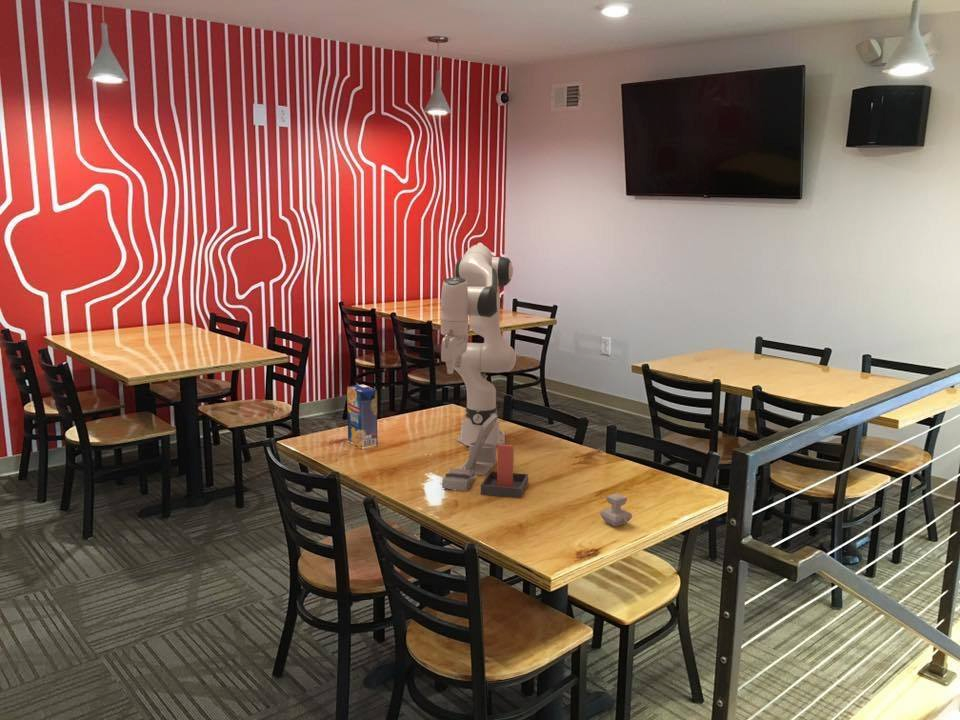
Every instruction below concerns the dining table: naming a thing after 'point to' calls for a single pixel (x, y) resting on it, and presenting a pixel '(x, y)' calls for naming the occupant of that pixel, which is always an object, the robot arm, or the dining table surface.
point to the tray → (492, 489)
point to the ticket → (505, 465)
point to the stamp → (616, 511)
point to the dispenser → (458, 479)
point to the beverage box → (362, 415)
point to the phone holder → (482, 450)
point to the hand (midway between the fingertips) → (454, 370)
